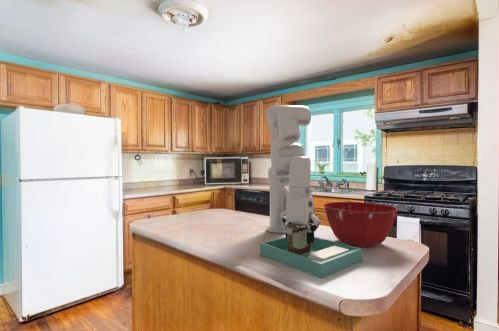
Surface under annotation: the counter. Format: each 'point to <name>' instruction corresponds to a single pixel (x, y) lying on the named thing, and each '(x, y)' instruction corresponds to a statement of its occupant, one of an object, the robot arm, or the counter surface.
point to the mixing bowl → (360, 222)
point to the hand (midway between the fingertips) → (299, 240)
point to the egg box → (327, 253)
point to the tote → (301, 262)
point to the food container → (297, 239)
